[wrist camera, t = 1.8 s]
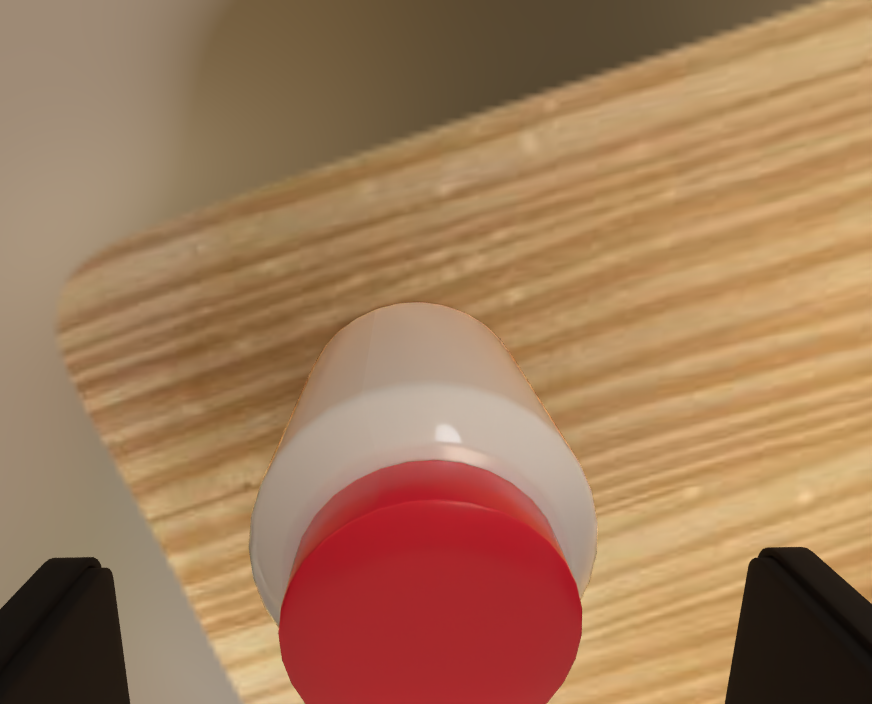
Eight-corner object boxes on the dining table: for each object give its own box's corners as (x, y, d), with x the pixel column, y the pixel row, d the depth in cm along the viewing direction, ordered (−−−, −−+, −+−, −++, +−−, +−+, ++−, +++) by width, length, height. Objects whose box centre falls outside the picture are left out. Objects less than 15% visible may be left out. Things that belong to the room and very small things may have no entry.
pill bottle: (353, 535, 17) (316, 847, 9) (267, 347, 16) (130, 530, 8) (551, 466, 17) (687, 725, 9) (485, 268, 15) (579, 371, 7)
